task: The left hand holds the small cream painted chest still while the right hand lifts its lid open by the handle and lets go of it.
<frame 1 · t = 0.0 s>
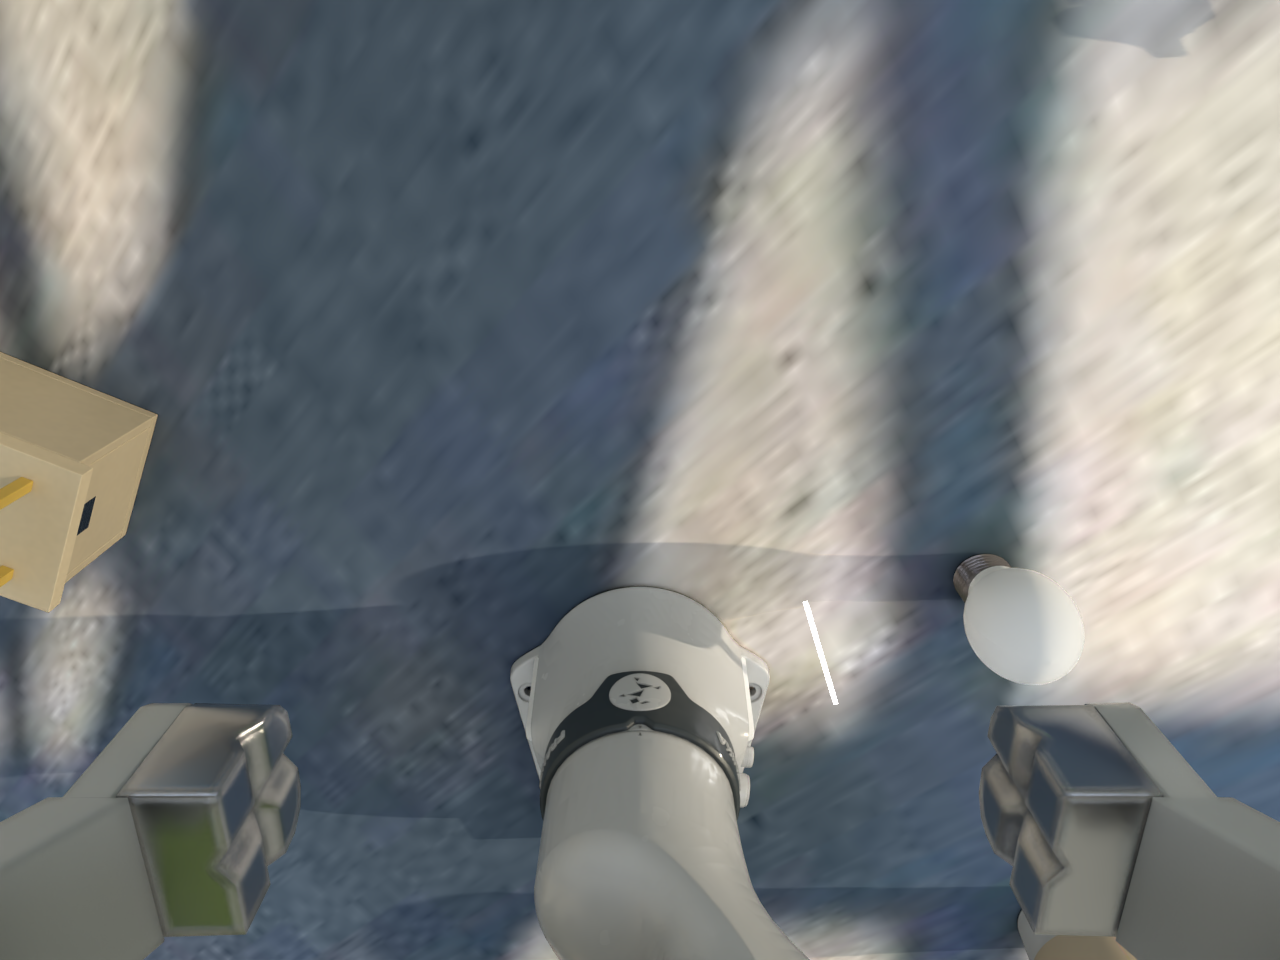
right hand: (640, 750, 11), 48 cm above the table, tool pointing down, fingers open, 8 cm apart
light bulb: (983, 574, 64), on the table
coffee cup: (1058, 916, 75), on the table
chest: (25, 431, 60), on the table
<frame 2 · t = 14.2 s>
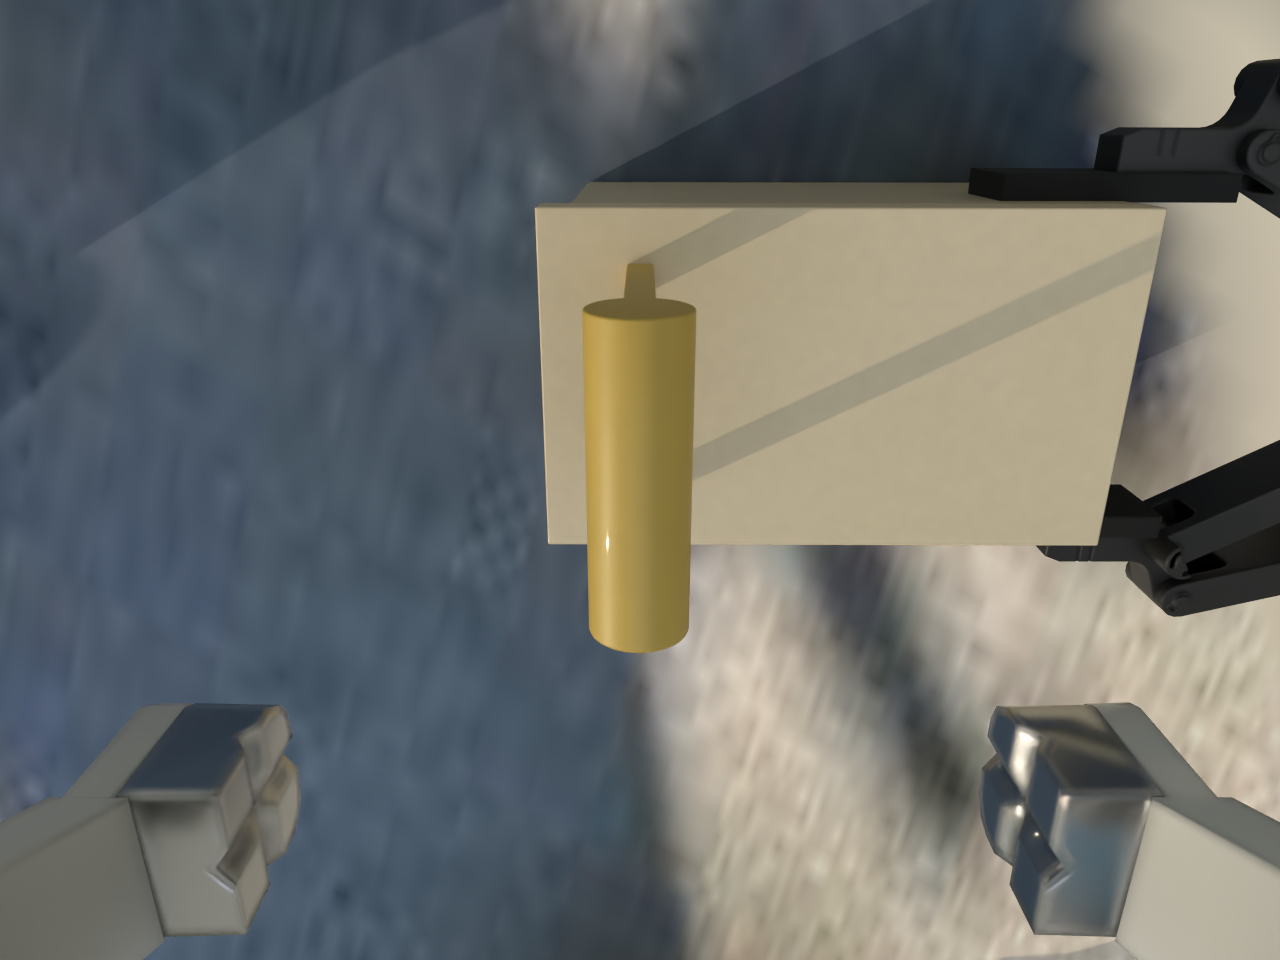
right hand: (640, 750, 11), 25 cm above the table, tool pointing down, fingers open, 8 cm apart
lid: (863, 426, 22), point 13 cm above the table, hinge at 0.0°
chest: (793, 314, 34), on the table, touching left hand
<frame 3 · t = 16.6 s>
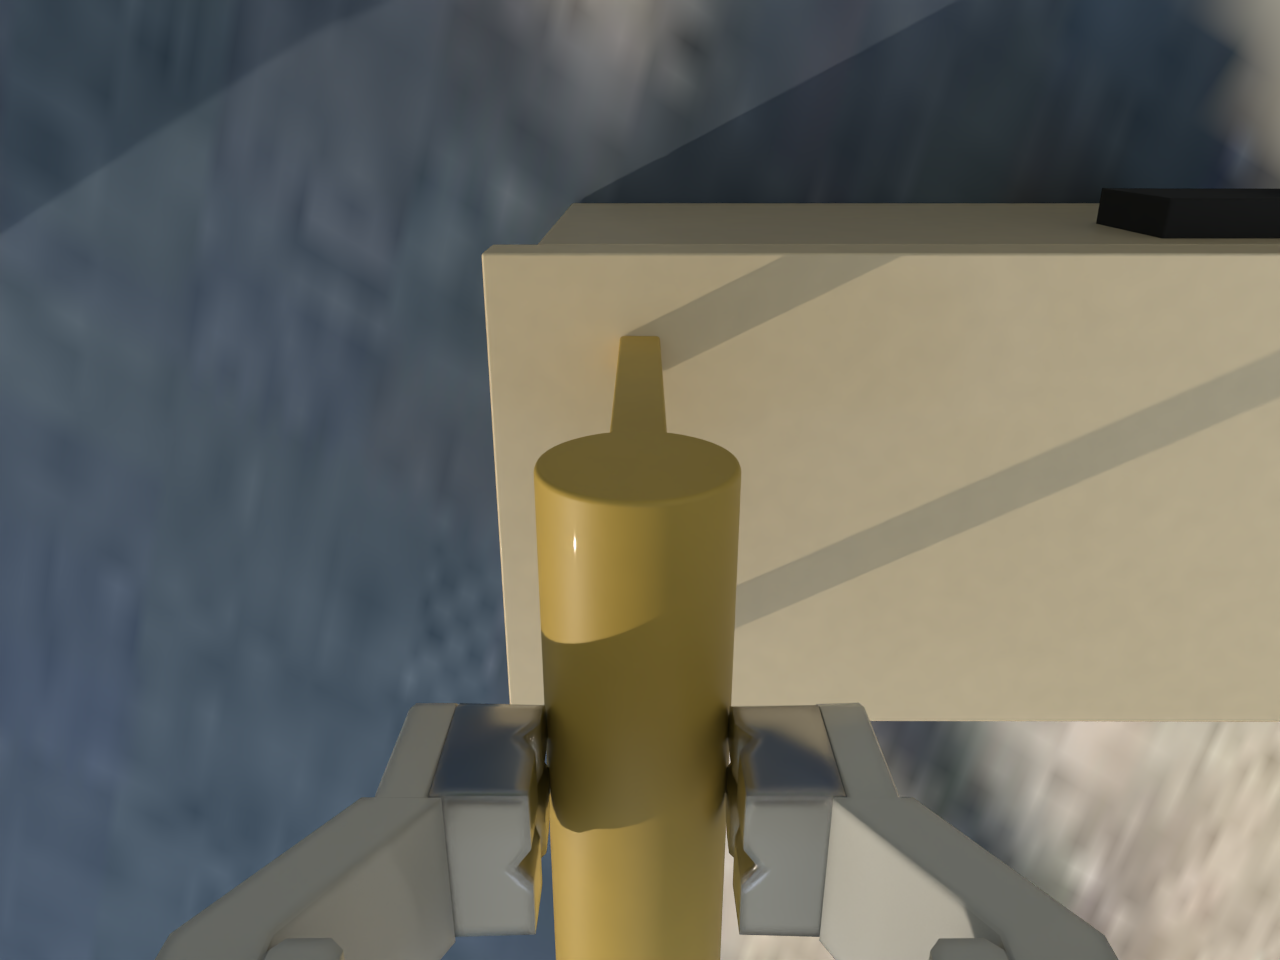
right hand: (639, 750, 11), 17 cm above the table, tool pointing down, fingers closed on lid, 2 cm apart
lid: (987, 598, 14), point 13 cm above the table, hinge at 0.0°, touching right hand
chest: (838, 373, 26), on the table, touching left hand
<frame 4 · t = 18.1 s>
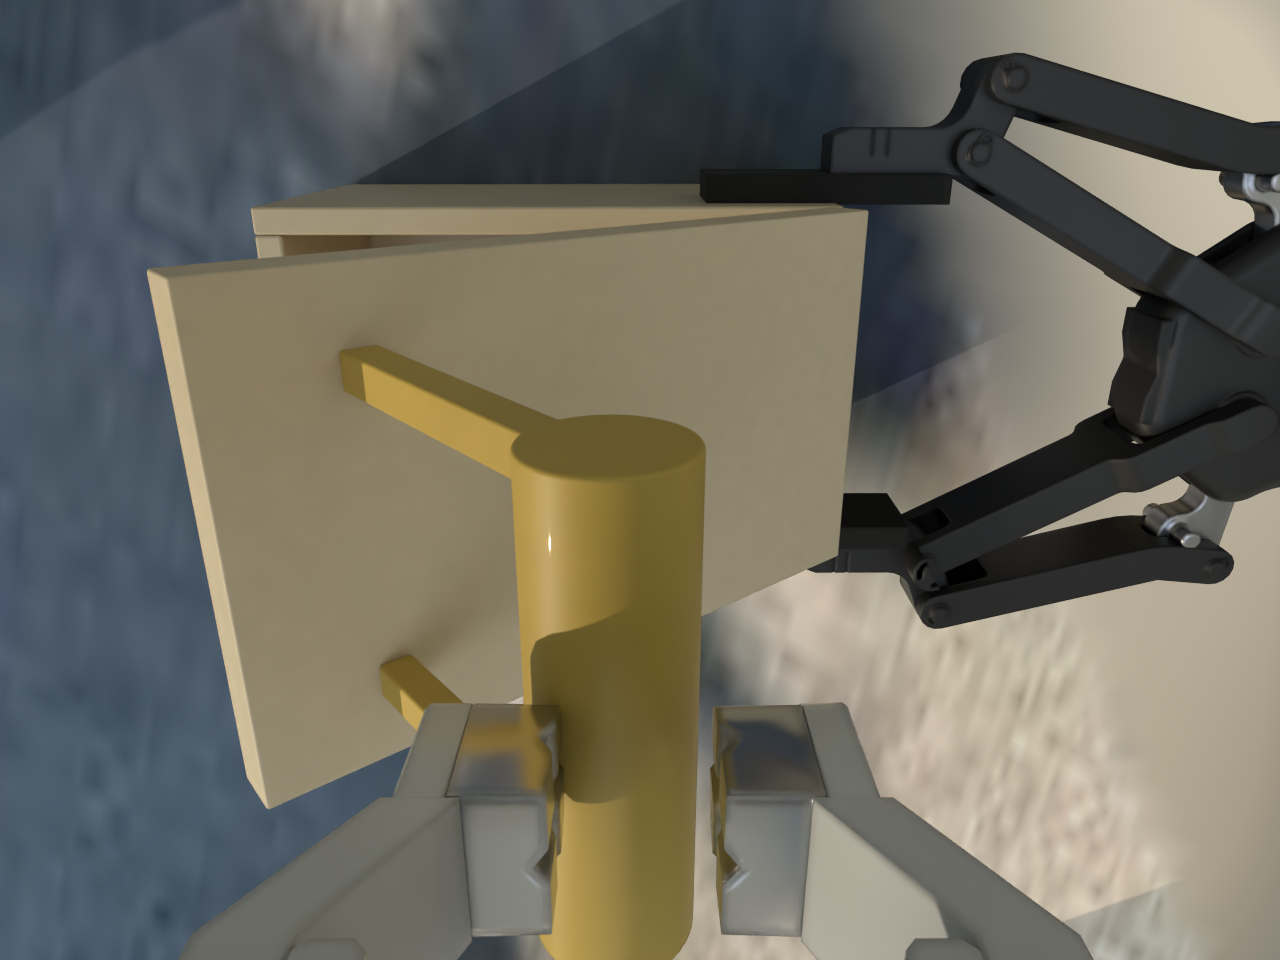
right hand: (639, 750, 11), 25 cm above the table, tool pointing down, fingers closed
left hand: (698, 365, 27), fingers closed on chest, 9 cm apart
lid: (725, 512, 17), point 18 cm above the table, hinge at 39.2°, touching right hand
chest: (573, 319, 33), on the table, touching left hand
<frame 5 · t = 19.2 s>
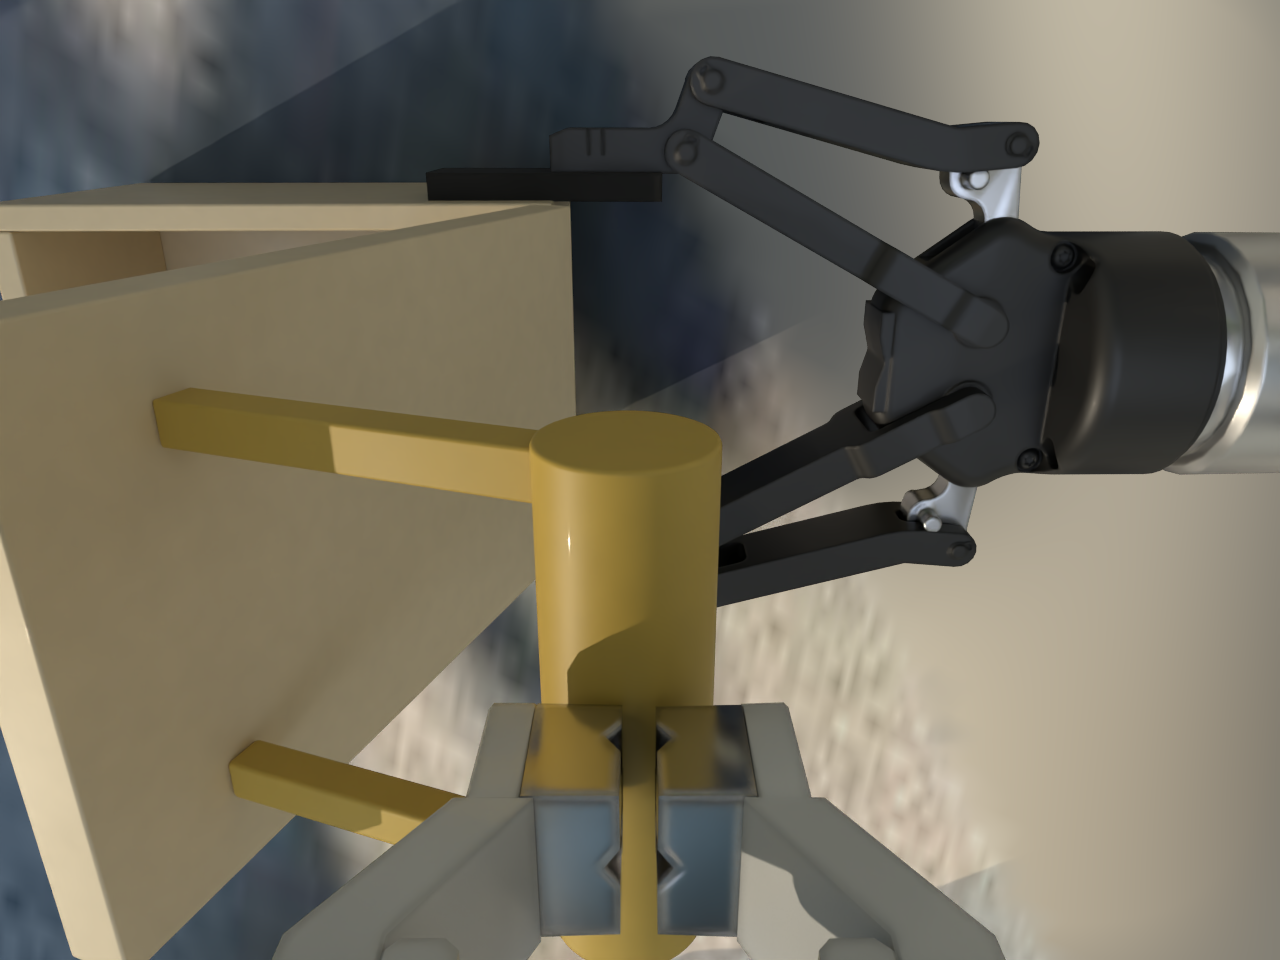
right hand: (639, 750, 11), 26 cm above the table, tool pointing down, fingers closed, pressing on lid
left hand: (449, 356, 28), fingers closed on chest, 9 cm apart
lid: (562, 505, 17), point 18 cm above the table, hinge at 68.5°, touching right hand
chest: (370, 314, 34), on the table, touching left hand
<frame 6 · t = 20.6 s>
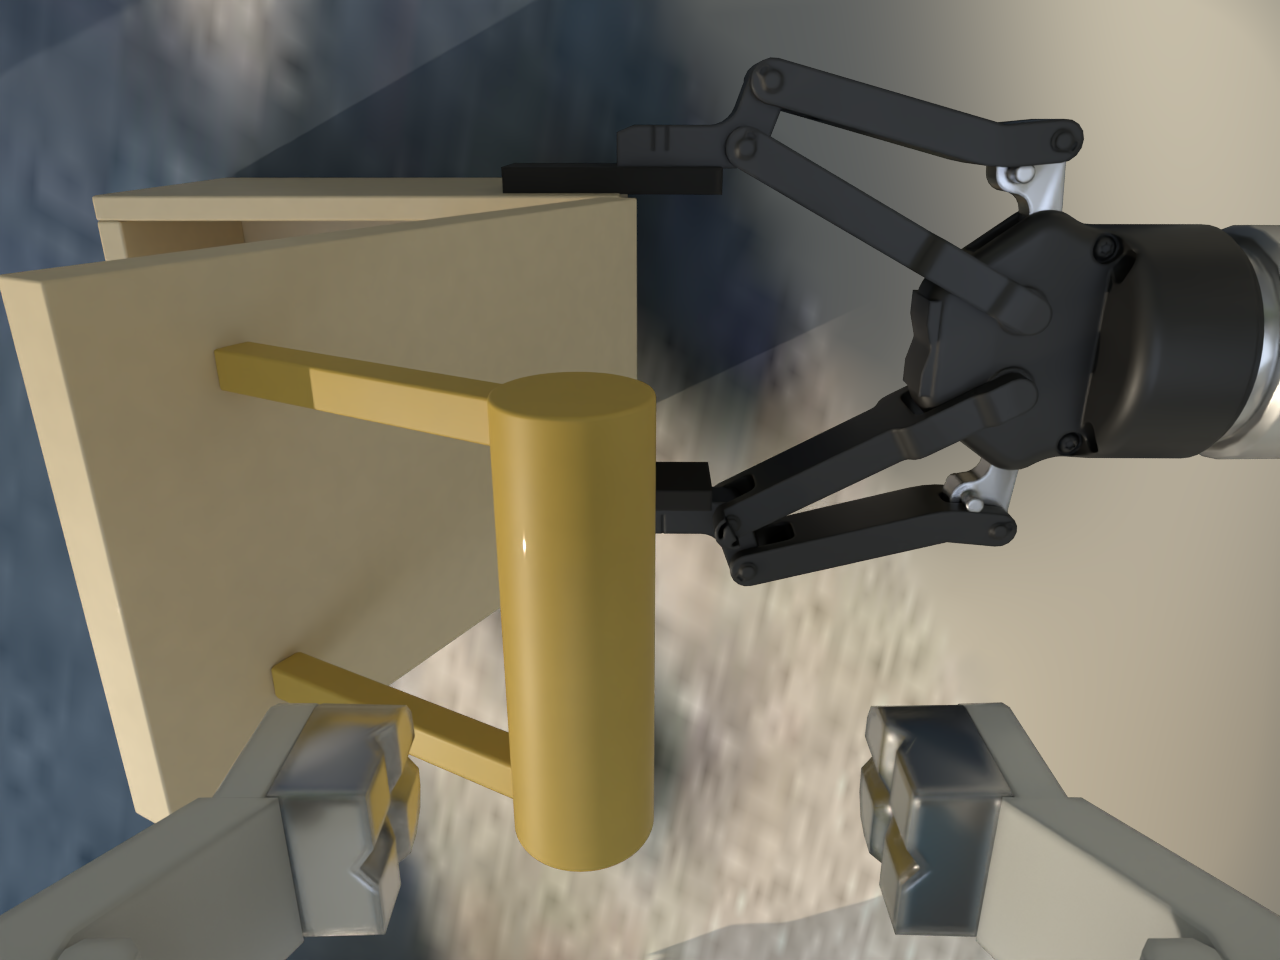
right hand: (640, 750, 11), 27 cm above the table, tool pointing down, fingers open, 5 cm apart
left hand: (517, 341, 30), fingers closed on chest, 9 cm apart
lid: (584, 469, 19), point 18 cm above the table, hinge at 60.9°
chest: (436, 303, 36), on the table, touching left hand
when the left hand's fingers open (7 cm above the table, at t = 23.5 s): chest stays where it is, on the table.
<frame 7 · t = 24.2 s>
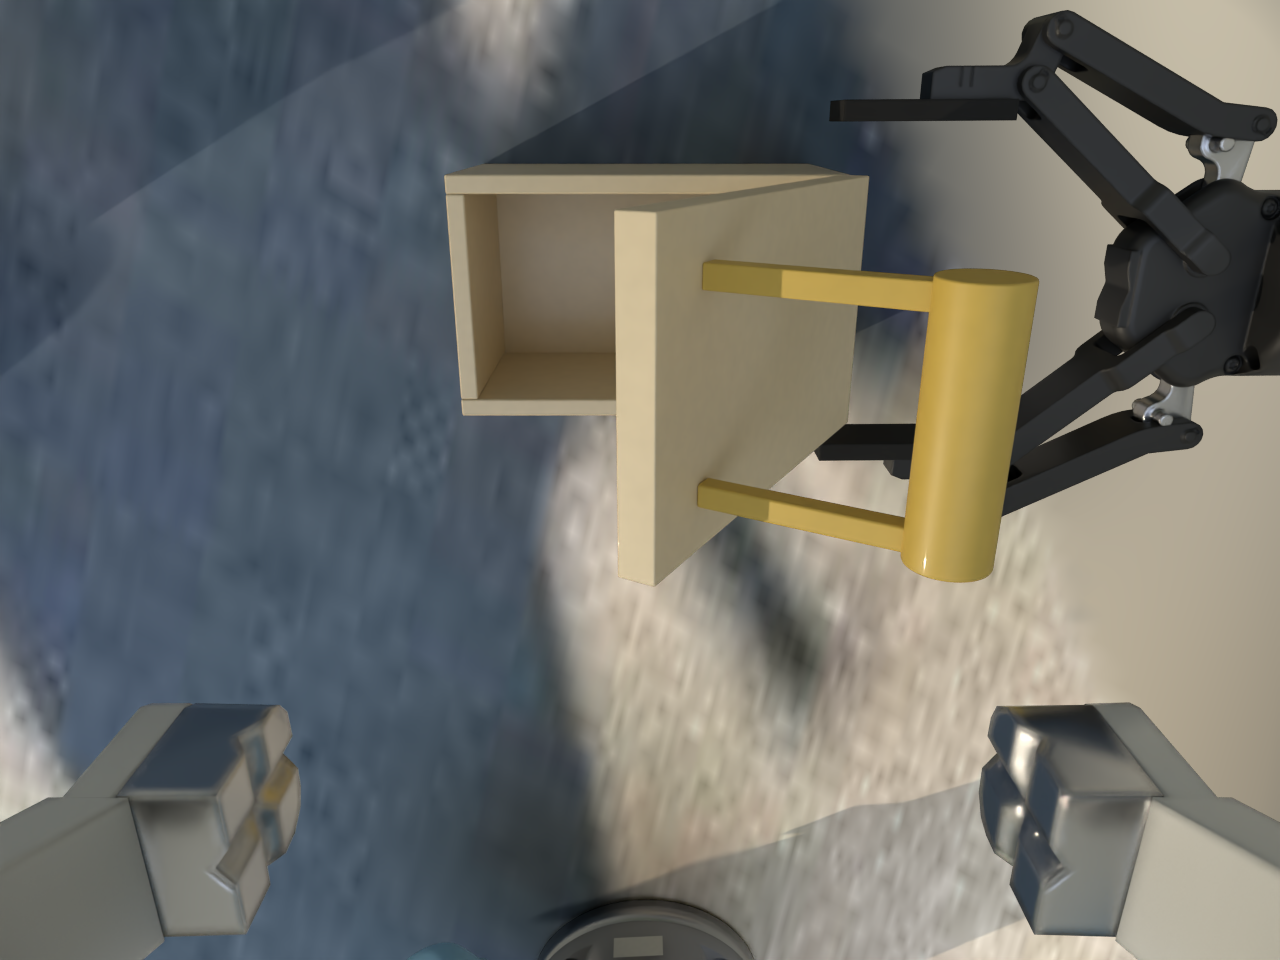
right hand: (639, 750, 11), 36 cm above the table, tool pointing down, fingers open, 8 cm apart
left hand: (823, 287, 38), fingers open, 13 cm apart
lid: (884, 360, 27), point 18 cm above the table, hinge at 60.0°
chest: (645, 267, 44), on the table
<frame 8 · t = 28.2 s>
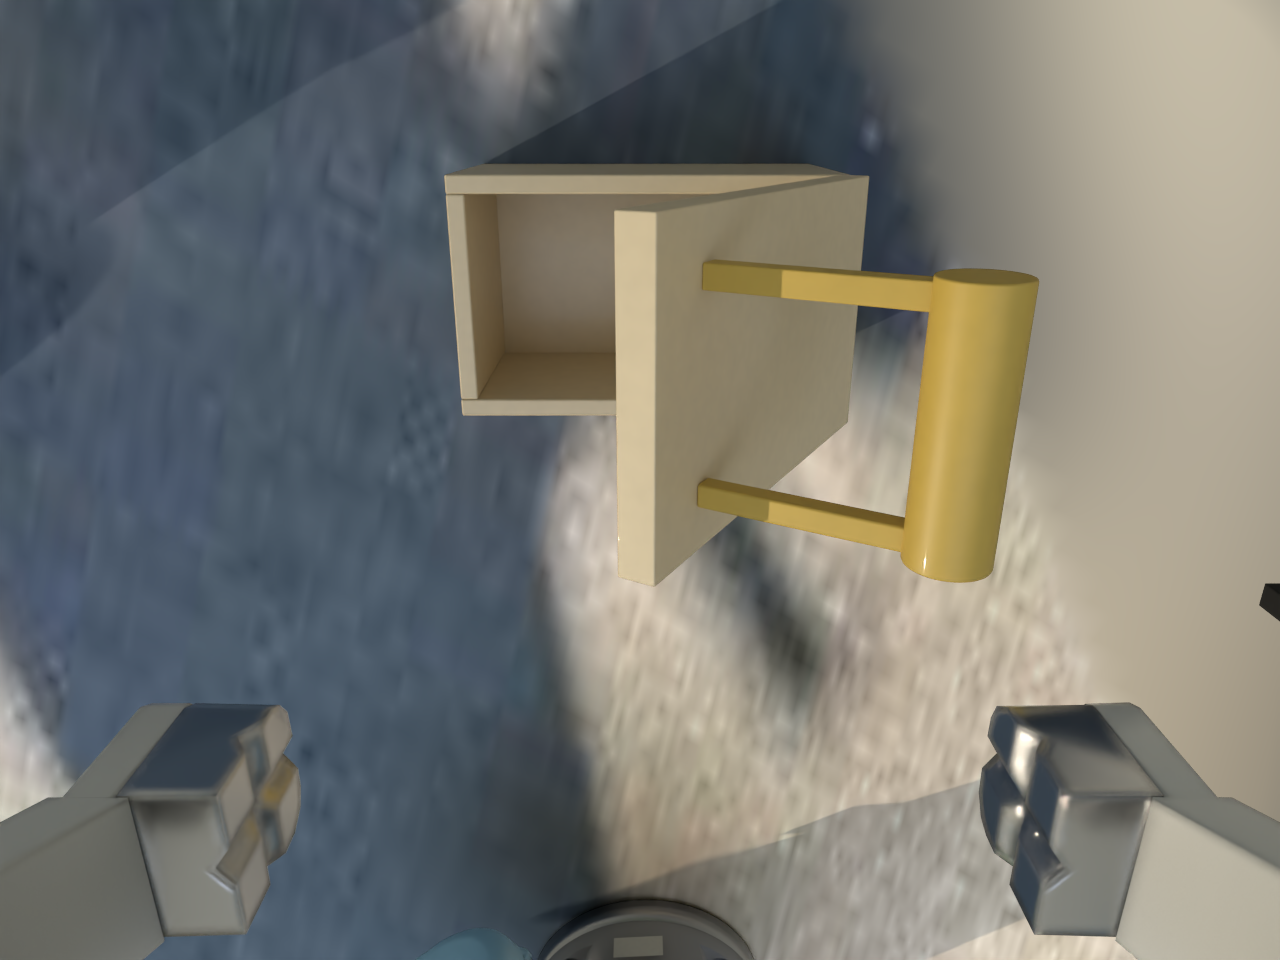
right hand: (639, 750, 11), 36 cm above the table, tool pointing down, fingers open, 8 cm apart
lid: (885, 360, 27), point 18 cm above the table, hinge at 60.0°
chest: (645, 267, 44), on the table
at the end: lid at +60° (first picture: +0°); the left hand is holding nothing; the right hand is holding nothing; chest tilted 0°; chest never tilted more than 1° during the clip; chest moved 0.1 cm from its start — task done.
